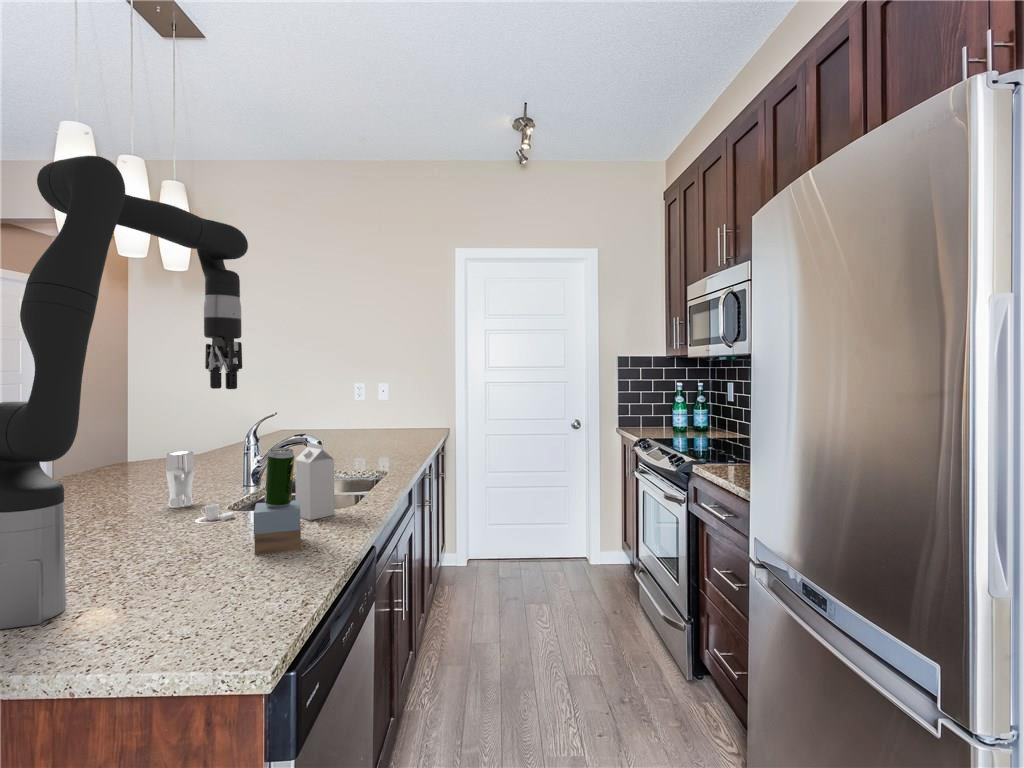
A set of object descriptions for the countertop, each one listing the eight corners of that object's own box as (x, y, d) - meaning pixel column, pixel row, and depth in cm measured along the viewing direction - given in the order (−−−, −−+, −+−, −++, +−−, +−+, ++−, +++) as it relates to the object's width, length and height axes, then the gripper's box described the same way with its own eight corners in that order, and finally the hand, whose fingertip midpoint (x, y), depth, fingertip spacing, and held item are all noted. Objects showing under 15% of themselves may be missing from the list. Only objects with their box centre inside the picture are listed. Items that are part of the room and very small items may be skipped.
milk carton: (319, 511, 153) (319, 441, 152) (334, 515, 148) (334, 444, 148) (295, 516, 147) (295, 444, 147) (310, 521, 143) (309, 446, 142)
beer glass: (170, 503, 161) (169, 451, 161) (197, 502, 163) (196, 450, 163) (163, 509, 154) (162, 455, 154) (191, 507, 156) (190, 454, 156)
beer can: (267, 509, 118) (270, 454, 117) (262, 501, 122) (265, 448, 121) (293, 507, 121) (297, 453, 120) (287, 499, 126) (291, 447, 124)
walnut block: (300, 550, 120) (300, 529, 119) (254, 555, 116) (254, 534, 116) (300, 538, 128) (299, 519, 128) (256, 543, 125) (256, 523, 124)
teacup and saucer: (239, 518, 146) (239, 503, 146) (215, 526, 139) (215, 510, 139) (212, 516, 149) (212, 501, 149) (187, 524, 141) (187, 507, 141)
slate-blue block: (300, 530, 119) (300, 509, 119) (253, 534, 116) (253, 512, 116) (299, 519, 128) (299, 499, 128) (256, 523, 124) (256, 503, 124)
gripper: (253, 316, 124) (254, 389, 125) (227, 320, 134) (227, 388, 134) (218, 313, 119) (218, 389, 119) (192, 317, 128) (193, 388, 128)
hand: (223, 388), depth 126 cm, fingers open, 8 cm apart
